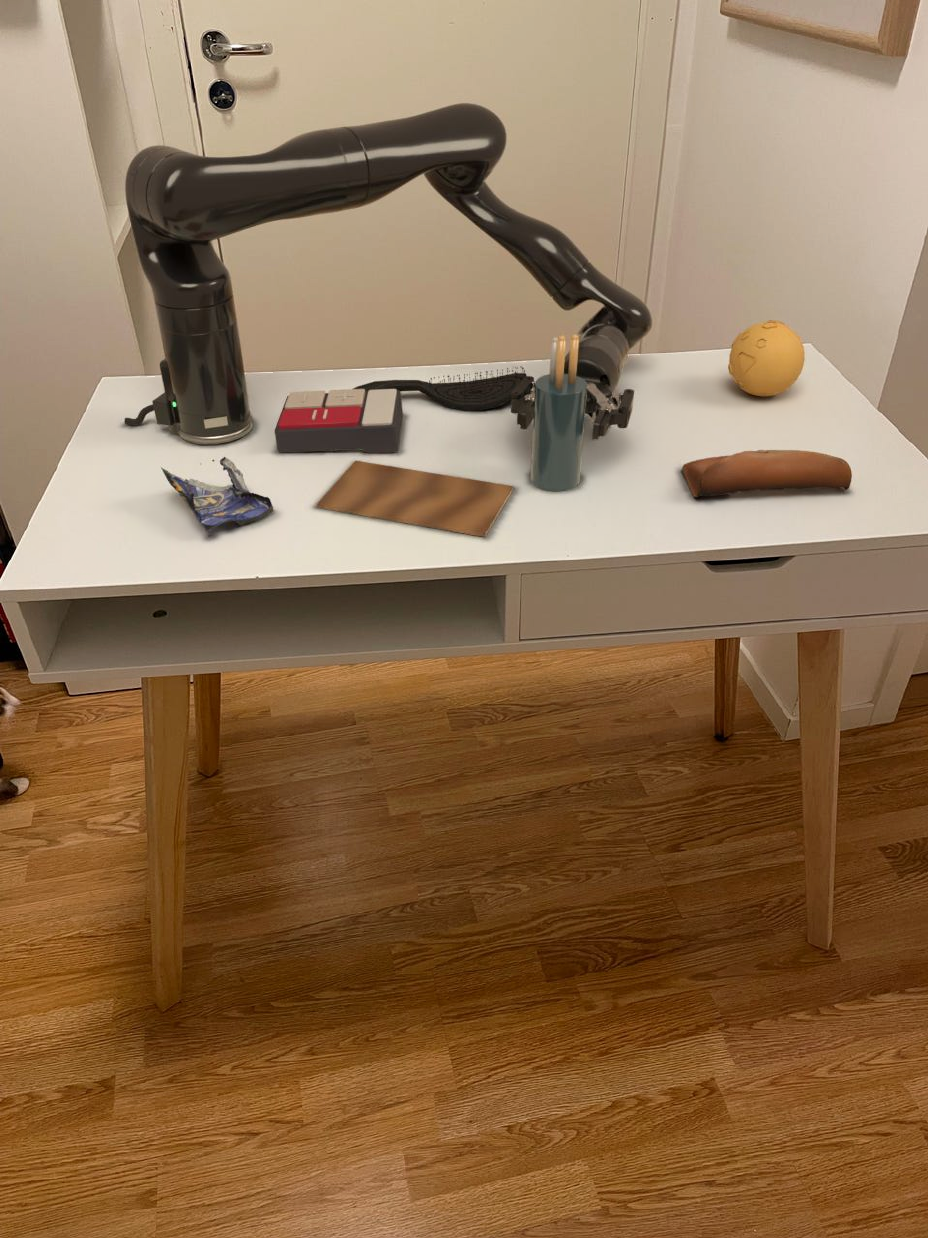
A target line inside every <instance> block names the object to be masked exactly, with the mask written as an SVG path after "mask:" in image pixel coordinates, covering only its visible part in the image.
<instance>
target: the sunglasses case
mask: <svg viewBox="0 0 928 1238" xmlns="http://www.w3.org/2000/svg"><path fill="white" fill-rule="evenodd" d="M681 471H682V474H683V477H684V480H685V482H686V484H687V486H688V489H689V491H690V493H691V495H692V497H693V498H695V499H696V498H699V497H700V496H701V497H712V496H723V495H728V494H737V493H748V492H755V491H783V490H793V489H795V490H811V489H833V488H839V489H844V490H845V491H847V490H849V488H851V484H852V478H853V472H852V469H851V466H850V464H849V463H848V461H846V460H845V459H843V458H841V457H837V456H834V455H830V454H827V453H822V452H818V451H810V450H799V449H758V450H745V451H741V452H735V453H733V454H731V455H720V456H711V457H705V458H700V459H696V460H691V461H689V462H686V463H684V464H683V465H682V467H681Z"/></svg>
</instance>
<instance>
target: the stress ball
mask: <svg viewBox="0 0 928 1238" xmlns="http://www.w3.org/2000/svg"><path fill="white" fill-rule="evenodd" d="M730 348H731V349H730V352H729V360H728V364H727V369H728V373H729V375H730V376H731V377H732V379H733V381H734V382H735V384H736V385H737V386H738V387H739V388H740V389H742V391H744V392H746V393H748V394H749V395H751V396H752V395H753V396H757V397H773V396H776V395H779V394H780V393H783V392H785V391H786V390H788V389H789V388H791V387H792V386H793V385H794V383H796V382H797V380H798V379H799V377H800V375H801V374H802V371H803V368H804V365H805V360H806V359H805V358H806V357H805V355H806V354H805V353H806V352H805V347H804V344H803V341H802V339H801V338H800V336H799V335H798V333H797V332H796V331H794V329H792V328H791V327H790V326H787V325H786V324H785V323H784V322H783V321H780V320H774V319H773V320H771V319H770V320H767V321H764V322H758V323H756V324H753V325H751V326H749V327H748V328H746V329H745V330H744V331H743V332H740V333H738V335H737V336H736V337H735V339H734V340H733V342H732V344H731V346H730Z"/></svg>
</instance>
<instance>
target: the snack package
mask: <svg viewBox="0 0 928 1238" xmlns="http://www.w3.org/2000/svg"><path fill="white" fill-rule="evenodd" d="M211 462H215V459H212V460H211ZM219 464H220V465H221V466H222V470H223V471H227V475H228V477H229V478H230V482H231V483H232V484H228V485H225V486H218V485H210V484H206V483H204V482H203V481H200V480H198V479H194V478H190V479H187V478H185V479H184V478H182V477H181V476H177V475H175V474H173V473H171V472H170V471H168V470H166V469H164V468H163V467H162V466H160V468H161V471H162V472H163V474H164V476H165V478H166V480H167V481H168V483H169V484H170V486H171V487H172V488H173V489H174V490H175V491H177V492H178V494H179V495H180V497H182V498H183V499H184V500H185V501H186V503H187V505H188V507H189V509H190V510H191V511H192V512H193V514H194V516H195V517H196V518H197V520H198V521H199V523H200V524H201V526H202V527H203V528H204V529H205V530H206V531H207V532H209V531H211V530H213V529H214V528H216V527H218V526H221V525H222V524H225V523H229V522H235V523H238V526H237V528H239V526H240V527H243V526H244V525H246V524H248V523H255V522H256V521H259V520H260V519H262V518H263V517H264V516H267V515H268V514H271V513H273V512H274V505H273V504H272V501H271V498H269V497H268V496H264V495H260V494H258V493H255V492H251V491H250V490H249V489H248V486H247V484H246V482H245V479H244V474H243V473H242V472H241V470H240V469H238V468H237V466H236V464H235V462H233V461H232V460H231V459H229V458H227V457H226V456H224V457H222V458H221V459H220V460H219ZM200 465H202V463H200ZM207 537H209V538H210V537H211V534H209V535H207Z"/></svg>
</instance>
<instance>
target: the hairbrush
mask: <svg viewBox="0 0 928 1238" xmlns="http://www.w3.org/2000/svg"><path fill="white" fill-rule="evenodd" d="M519 367H520V369H521V372H517V370H518V369H519V368H518V367H517V366H515V367H514V368H515V369H516V370H515V371H514V369H511V372H512V373H510V370H509V369H506V374H504V369H501V372H502V373H501V374H502V375H498V374H499V372H498V369H496V376H494V374H493V370H491V372H490V373H489V372H488V371H487V370H486V371H485V375H486V376H485V377H484V376H483V378H479V379H478V377H477V375H478V374H479V373H478V372H475V373H474V375H475V376H474V378H472V380H471V378H469V380H468V378H466V376H468V375H469V374H468V373H467V374H465V373H464V374H463V376H464V377H463V381H461V377H460V374H457V375H456V377H458V381H453V382H451V380H452V377H450V375H447V378H449V382H445V381H446V379H445V375H443V376H442V377H443V379H442V380H439V382H433V381H432V380H433V379H434V380H435V379H436V377H435V376H434V377H433V378H432V377H431V378H430V380H428V382H427V381H424V380H421V379H390V380H388V379H387V380H376V381H375V380H374V381H371V382H368V383H364V384H361V385H358V386H355V387H353V388H352V389H365V391H369V390H380V389H396V390H400V391H401V393H402V392H420V393H421V394H422V395H424V396H426V397H428V398H429V399H431V400H433V401H434V402H435V401H436V402H437V403H439V404H441V405H442V406H444V407H447V408H451V409H455V410H460V411H464V412H465V411H468V412H469V411H474V412H475V411H484V410H485V411H486V410H488V409H493V408H497V407H500V406H502V405H505V404H506V403H508V402H509V401H512V397H511V393H512V391H513V390H514V389H515V388H516V387H517V385H518V384H519V383H520V382H521V381H522V380H523V379H524V378H525V377H526V376H528V375H527V373H526V370H525V368H524V367H523V366H522V365H520V366H519ZM488 373H489V375H488ZM488 376H492V377H488ZM479 377H482V372H481V371H480V374H479ZM437 378H438V379H440V376H438V377H437ZM453 380H455V377H453Z"/></svg>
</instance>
